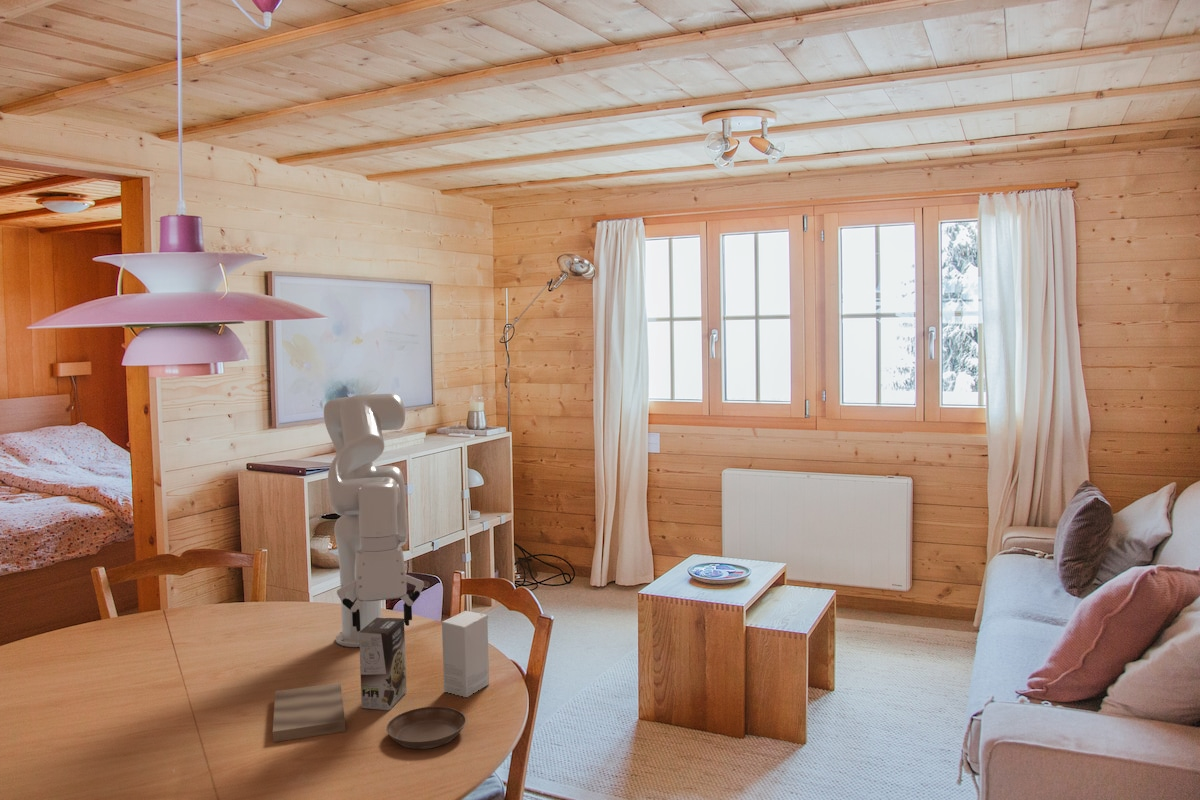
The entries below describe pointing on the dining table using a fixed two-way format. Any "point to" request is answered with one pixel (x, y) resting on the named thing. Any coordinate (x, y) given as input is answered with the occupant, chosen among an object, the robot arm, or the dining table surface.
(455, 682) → the skincare box
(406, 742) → the saucer
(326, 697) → the grey-brown rectangular board
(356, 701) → the dining table surface
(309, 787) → the dining table surface
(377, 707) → the coffee box
